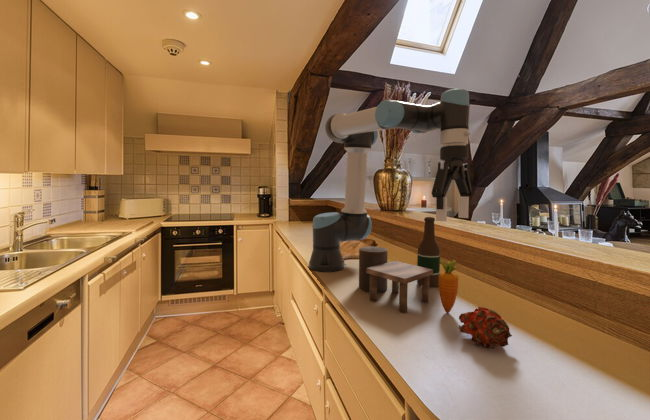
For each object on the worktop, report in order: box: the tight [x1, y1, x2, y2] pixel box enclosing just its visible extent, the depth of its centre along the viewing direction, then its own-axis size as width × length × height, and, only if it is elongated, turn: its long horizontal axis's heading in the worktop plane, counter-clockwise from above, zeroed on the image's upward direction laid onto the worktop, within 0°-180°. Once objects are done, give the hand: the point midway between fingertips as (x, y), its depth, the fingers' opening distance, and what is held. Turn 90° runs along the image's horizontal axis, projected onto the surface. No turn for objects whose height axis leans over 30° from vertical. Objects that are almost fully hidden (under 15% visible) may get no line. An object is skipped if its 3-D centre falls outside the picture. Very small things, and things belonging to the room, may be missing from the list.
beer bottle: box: [416, 216, 441, 289], centre depth 107 cm, size 8×8×24 cm
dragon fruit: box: [458, 306, 513, 349], centre depth 67 cm, size 8×8×12 cm
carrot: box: [438, 259, 459, 314], centre depth 83 cm, size 5×5×15 cm
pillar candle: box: [358, 245, 389, 294], centre depth 104 cm, size 10×10×15 cm
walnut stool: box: [366, 260, 433, 314], centre depth 92 cm, size 14×14×10 cm
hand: (452, 219), depth 89 cm, fingers open, 13 cm apart
